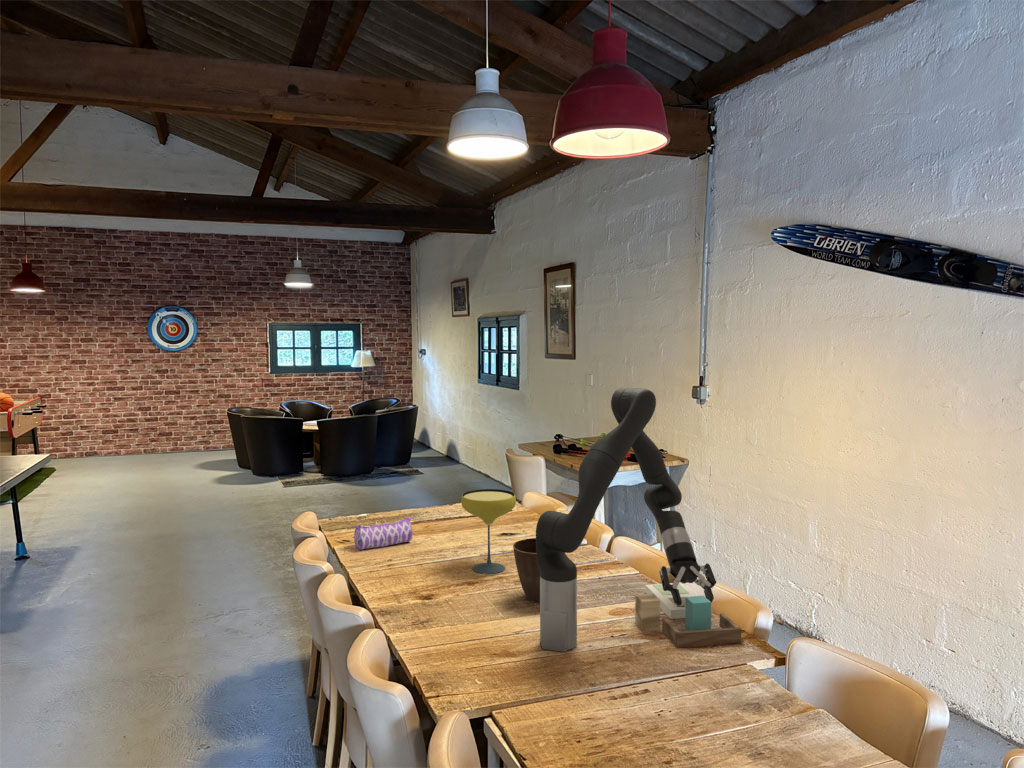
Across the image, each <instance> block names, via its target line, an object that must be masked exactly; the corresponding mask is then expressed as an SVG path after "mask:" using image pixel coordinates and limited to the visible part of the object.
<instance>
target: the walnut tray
mask: <svg viewBox="0 0 1024 768" xmlns="http://www.w3.org/2000/svg"><path fill="white" fill-rule="evenodd" d="M661 620H662V621H661V628H662V629H661V632H662V633H664V635H665V636H666V637H667V638H668V640H670V641H671V643H673V645H674V646H676V648H687V647H700V646H702V647H703V646H713V645H715V646H716V645H726V644H727V645H728V644H737V643H738V644H740V643H742V628H741V627H740V626H739V625H737V624H736V623H735V621H733V620H732V619H731V618H729V617H728V616H727V615H726V614H725V613H719V628H711V629H709V630H696V631H685V630H684V631H680V630H678V628H677V627H676V626H675V625H674V624H673V623H672V622H671V621H670V620H669V619H668V618H667V617H662V619H661Z"/></svg>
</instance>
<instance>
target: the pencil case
mask: <svg viewBox="0 0 1024 768" xmlns="http://www.w3.org/2000/svg"><path fill="white" fill-rule="evenodd" d="M413 518H414V517H411V516H408V517H406V518H404V519H402V520H400V521H396V522H390V523H383V524H382V523H381V524H377V525H363V524H360V525H358V524H356V525H355V529H354V534H353V537H354V539H353V540H354V544H355V546H356V549H358V550H359V551H363V550H368V549H375V548H382V547H383V548H384V547H387V546H392V545H393V546H394V545H397V544H401V543H406V542H411V541H412V540H413V528H412V523H411V521H412V520H413Z"/></svg>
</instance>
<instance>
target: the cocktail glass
mask: <svg viewBox="0 0 1024 768" xmlns="http://www.w3.org/2000/svg"><path fill="white" fill-rule="evenodd" d="M516 499H517V497H516V493H514V492H513V491H510V490H505V489H497V488H487V489H486V488H485V489H483V488H482V489H475V490H474V489H473V490H469V491H466V492H464V493H462V495H461V500H460V503H461V507H462V508H463V509H464V510H465V511H466V512H467V513H469V514H470V515H473V516H475V517H476V518H479V519H481V520H482V521H483V523H484V524H485V525H487V559H486V562H482V563H478V564H475V565H473V567H472V570H473V572H475V573H478V574H483V575H492V574H499V573H502V572H504V571H505V570H506V566H505V565H503V564H501V563H498V562H497V563H496V562H492V561H491V559H492V558H491V536H490V535H491V534H490V533H491V532H490V530H491V529H490V528H491V527H490V526H491V525H492V524H493V523H494V522H495V521H496V519H498V518H500V517H502V516H504V515H506V514H508V513H509V512H511V511H512V510H513V509H514V508H515V506H516V505H517V504H516V501H517V500H516Z"/></svg>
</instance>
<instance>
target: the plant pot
mask: <svg viewBox="0 0 1024 768" xmlns="http://www.w3.org/2000/svg"><path fill="white" fill-rule="evenodd" d="M512 548H513V549H512V550H513V554H514V562H515V566H516V570H517V574H518V575H517V576H518V578H519V582H520V585H521V588H522V590H523V593H524V596H525V599H526V600H527V601H529V602H531V603H534V604H535V603H538V604H540V569H539V567H538V564H537V552H536V537H535V538H534V537H533V538H532V537H531V538H524V539H519V540H517V541H515V543H513V545H512Z"/></svg>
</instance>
